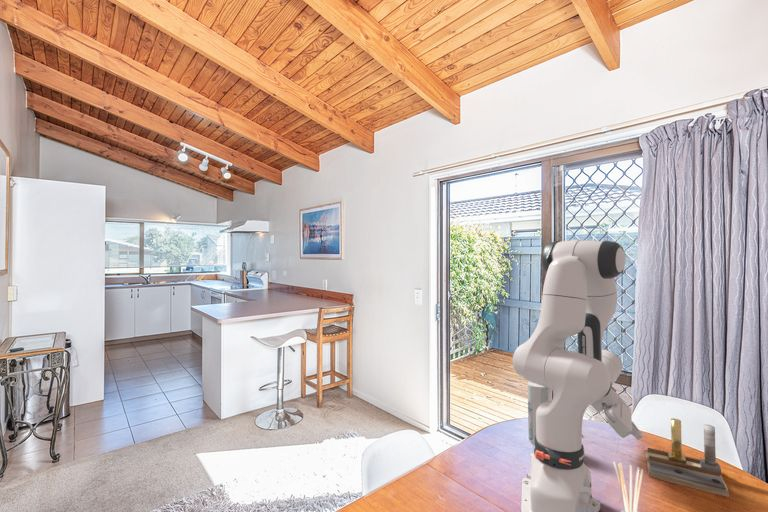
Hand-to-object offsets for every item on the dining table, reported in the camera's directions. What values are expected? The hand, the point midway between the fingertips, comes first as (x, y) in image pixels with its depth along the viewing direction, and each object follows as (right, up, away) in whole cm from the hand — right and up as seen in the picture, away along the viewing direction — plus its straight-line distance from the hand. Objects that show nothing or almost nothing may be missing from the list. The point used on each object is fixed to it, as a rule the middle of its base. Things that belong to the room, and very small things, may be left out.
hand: (640, 437), depth 113 cm
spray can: (-28, -7, +11) cm, 30 cm away
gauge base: (+7, -7, -8) cm, 12 cm away
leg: (+8, -5, -5) cm, 10 cm away
